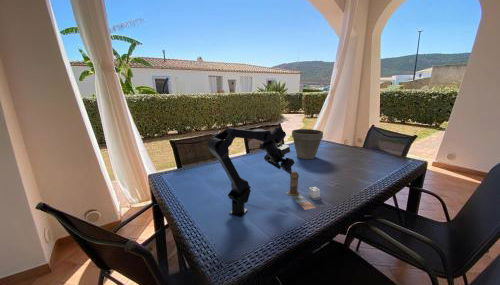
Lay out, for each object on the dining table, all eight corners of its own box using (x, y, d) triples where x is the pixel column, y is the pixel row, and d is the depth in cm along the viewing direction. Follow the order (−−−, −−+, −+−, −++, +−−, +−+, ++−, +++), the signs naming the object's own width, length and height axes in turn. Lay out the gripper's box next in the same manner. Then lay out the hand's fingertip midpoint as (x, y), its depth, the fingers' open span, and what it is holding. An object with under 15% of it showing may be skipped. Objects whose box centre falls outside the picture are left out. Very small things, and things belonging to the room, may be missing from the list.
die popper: (323, 199, 115) (324, 190, 114) (311, 202, 113) (312, 192, 111) (315, 193, 121) (316, 184, 120) (304, 195, 119) (305, 186, 118)
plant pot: (298, 150, 202) (299, 127, 196) (325, 155, 188) (327, 130, 182) (285, 157, 182) (286, 132, 177) (315, 163, 168) (317, 135, 163)
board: (318, 208, 107) (319, 207, 106) (302, 212, 104) (302, 210, 104) (297, 190, 125) (297, 189, 125) (283, 193, 122) (283, 192, 122)
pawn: (297, 197, 117) (298, 174, 113) (287, 194, 119) (287, 172, 116) (299, 192, 121) (301, 170, 118) (289, 190, 124) (290, 169, 121)
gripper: (295, 143, 104) (307, 165, 111) (272, 136, 120) (284, 156, 127) (279, 158, 101) (293, 181, 108) (257, 150, 117) (271, 169, 124)
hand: (285, 171), depth 117 cm, fingers open, 9 cm apart
